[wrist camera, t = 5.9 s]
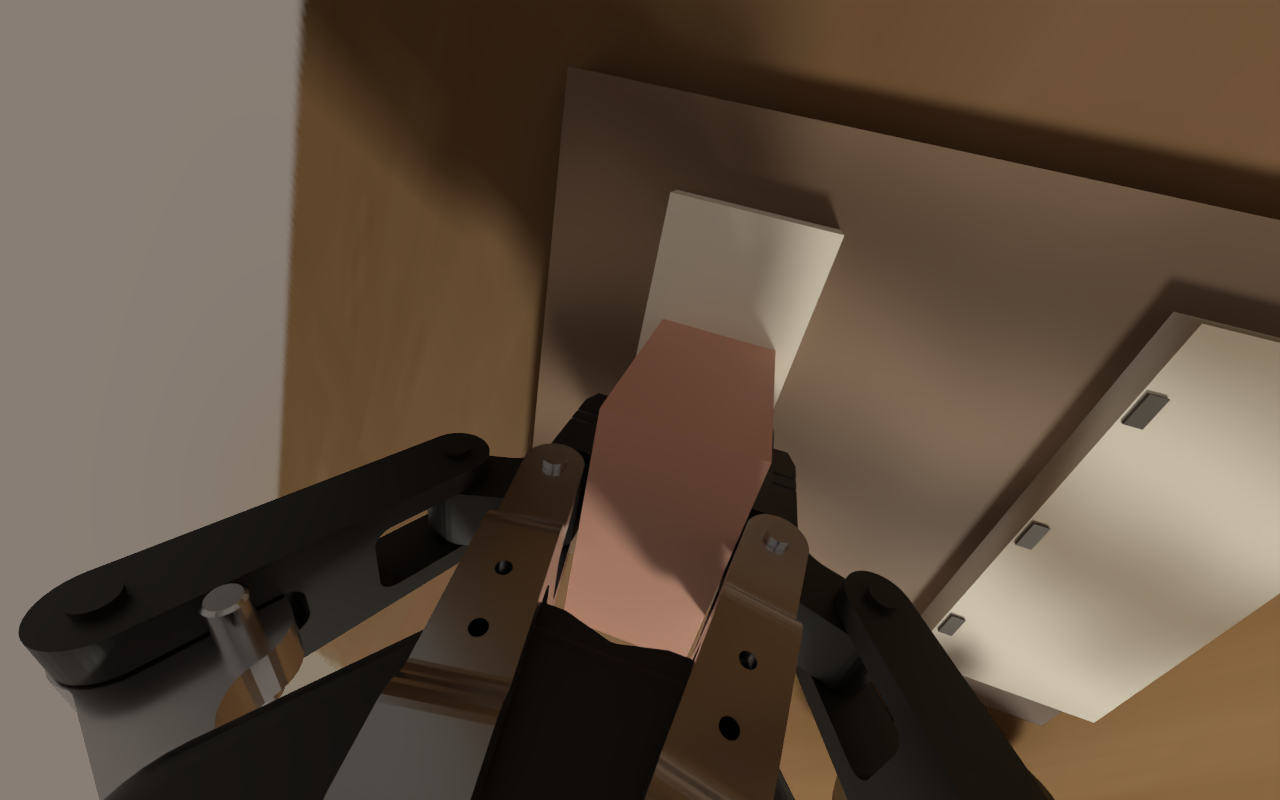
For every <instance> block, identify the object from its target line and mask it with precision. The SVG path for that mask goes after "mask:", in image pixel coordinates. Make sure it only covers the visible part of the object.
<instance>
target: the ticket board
mask: <svg viewBox="0 0 1280 800" xmlns="http://www.w3.org/2000/svg"><path fill="white" fill-rule="evenodd" d="M675 190H681V191H685V192H689V193H693V194H697V195H701V196H705V197H709V198H713V199H717V200H721V201H725V202H729V203H733V204H737V205H741V206H746V207H750V208H754V209H758V210H762V211H766V212H770V213H774V214H778V215H782V216H786V217H790V218H794V219H798V220H802V221H806V222H810V223H814V224H819V225H823V226H827V227H831V228H835V229H839V230H841V231H842V233H843V234H844V238H843V240H842V243H841V245H840V247H839V250H838V252H837V255H836V257H835V260H834V262H833V265H832V267H831V270H830V272H829V274H828V277H827V279H826V282H825V284H824V287H823V289H822V292H821V294H820V296H819V299H818V301H817V304H816V306H815V309H814V311H813V314H812V316H811V319H810V321H809V323H808V326H807V328H806V331H805V333H804V336H803V338H802V341H801V343H800V345H799V348H798V350H797V353H796V355H795V358H794V360H793V363H792V365H791V368H790V370H789V372H788V375H787V377H786V380H785V382H784V385H783V387H782V390H781V392H780V395H779V397H778V399H777V402H776V404H775V407H774V409H773V430H774V449H777V450H781V451H784V452H787V453H788V454H789V456H790V458H791V459H792V461H793V463H794V464H795V466H796V492H797V518H798V529H799V530H800V531H801V532H802V534H803V535H804V536H805V538H806V540H807V542H808V545H809V553H810V554H811V555H812V556H813V557H814V558H815V559H816V560H817V561H818V562H820V563H821V564H823V565H824V566H826V567H827V568H829V569H831V570H832V571H834V572H836V573H837V574H839V575H840V576H842V577H844V578H845V579H846V577H847V576H848V575H849V574H850V573H852V572H855V571H869V572H873V573H876V574H878V575H880V576H883V577H885V578H886V579H888V580H890V581H891V582H892V583H894V584H895V585H896V586H897V587H899V588H900V589H901V590H902V591H903V592H904V593H905V594H906V596H907V597H908V598H909V599H910V601H911V602H912V604H913V605H914V607H915V608H916V609H917V611H918V612H919V614H920V615H921V617H922V618H923V620H924V621H925V622H926V624H927V625H928V627H929V628H930V630H931V631H932V633H933V634H934V635H935V637H936V638H937V640H938V641H939V643H940V644H941V645H942V647H943V648H944V650H945V651H946V653H947V654H948V656H949V657H950V658H951V660H952V661H953V663H954V664H955V666H956V667H957V669H958V670H959V671H960V673H961V674H962V676H963V677H964V679H965V680H966V681H967V683H968V684H969V686H970V687H971V689H972V690H973V692H974V693H975V694H976V696H977V697H978V699H979V700H980V702H981V703H982V705H985V706H988V707H991V708H993V709H996V710H999V711H1002V712H1004V713H1007V714H1010V715H1013V716H1015V717H1018V718H1021V719H1023V720H1026V721H1029V722H1032V723H1034V724H1037V725H1040V726H1043V725H1044V724H1045V723H1047V722H1048V721H1049V720H1051V719H1052V718H1053V717H1055V716H1056V715H1057V714H1059V713H1060V712H1061V711H1063V712H1065V713H1068V714H1071V715H1074V716H1077V717H1079V718H1082V719H1085V720H1088V721H1090V722H1093V723H1094V722H1096V721H1097V720H1098V719H1100V718H1101V717H1103V716H1104V715H1106V714H1107V713H1109V712H1110V711H1111V710H1113V709H1114V708H1116V707H1117V706H1119V705H1120V704H1121V703H1123V702H1124V701H1126V700H1127V699H1129V698H1130V697H1131V696H1133V695H1134V694H1136V693H1137V692H1139V691H1140V690H1142V689H1143V688H1144V687H1146V686H1147V685H1149V684H1150V683H1152V682H1153V681H1154V680H1156V679H1157V678H1159V677H1160V676H1162V675H1163V674H1165V673H1166V672H1167V671H1169V670H1170V669H1172V668H1173V667H1175V666H1176V665H1177V664H1179V663H1180V662H1182V661H1183V660H1185V659H1186V658H1187V657H1189V656H1190V655H1192V654H1193V653H1195V652H1196V651H1198V650H1199V649H1200V648H1202V647H1203V646H1205V645H1206V644H1208V643H1209V642H1210V641H1212V640H1213V639H1215V638H1216V637H1218V636H1219V635H1220V634H1222V633H1223V632H1225V631H1226V630H1228V629H1229V628H1231V627H1232V626H1233V625H1235V624H1236V623H1238V622H1239V621H1241V620H1242V619H1243V618H1245V617H1246V616H1248V615H1249V614H1251V613H1252V612H1253V611H1255V610H1256V609H1258V608H1259V607H1261V606H1262V605H1264V604H1265V603H1266V602H1268V601H1269V600H1271V599H1272V598H1274V597H1275V596H1276V595H1278V594H1279V593H1280V220H1277V219H1272V218H1268V217H1263V216H1258V215H1254V214H1249V213H1244V212H1240V211H1235V210H1231V209H1226V208H1221V207H1217V206H1212V205H1208V204H1203V203H1198V202H1194V201H1189V200H1184V199H1180V198H1175V197H1171V196H1166V195H1161V194H1157V193H1152V192H1148V191H1143V190H1138V189H1134V188H1129V187H1125V186H1120V185H1115V184H1111V183H1106V182H1101V181H1097V180H1092V179H1088V178H1083V177H1078V176H1074V175H1069V174H1065V173H1060V172H1055V171H1051V170H1046V169H1041V168H1037V167H1032V166H1028V165H1023V164H1018V163H1014V162H1009V161H1005V160H1000V159H995V158H991V157H986V156H982V155H977V154H972V153H968V152H963V151H958V150H954V149H949V148H945V147H940V146H935V145H931V144H926V143H922V142H917V141H912V140H908V139H903V138H898V137H894V136H889V135H885V134H880V133H875V132H871V131H866V130H862V129H857V128H852V127H848V126H843V125H839V124H834V123H829V122H825V121H820V120H815V119H811V118H806V117H802V116H797V115H792V114H788V113H783V112H779V111H774V110H769V109H765V108H760V107H755V106H751V105H746V104H742V103H737V102H732V101H728V100H723V99H719V98H714V97H709V96H705V95H700V94H696V93H691V92H686V91H682V90H677V89H672V88H668V87H663V86H659V85H654V84H649V83H645V82H640V81H636V80H631V79H626V78H622V77H617V76H612V75H608V74H603V73H599V72H594V71H589V70H585V69H580V68H576V67H571V66H567V77H566V88H565V99H564V109H563V120H562V131H561V142H560V153H559V164H558V175H557V186H556V197H555V208H554V219H553V230H552V241H551V251H550V262H549V273H548V284H547V295H546V306H545V317H544V328H543V339H542V350H541V361H540V372H539V382H538V393H537V404H536V415H535V426H534V437H533V448H534V447H536V446H539V445H542V444H550V443H552V442H553V440H554V439H555V438H556V436H557V435H558V434H559V433H560V431H561V430H562V429H563V428H564V426H565V425H566V424H567V423H568V421H569V420H570V419H572V416H573V415H574V414H575V412H576V411H578V409H579V407H580V406H581V405H582V404H583V402H584V401H585V400H586V399H587V398H590V397H592V396H594V395H596V394H598V393H600V394H603V395H607V396H609V394H610V393H611V392H612V390H613V389H614V387H615V386H616V384H617V383H618V382H619V380H620V379H621V377H622V376H623V375H624V373H625V372H626V370H627V369H628V367H629V366H630V365H631V363H632V362H633V360H634V359H635V358H636V354H637V349H638V344H639V339H640V335H641V330H642V325H643V320H644V316H645V311H646V306H647V301H648V297H649V292H650V287H651V282H652V278H653V273H654V268H655V263H656V258H657V254H658V249H659V244H660V239H661V235H662V230H663V225H664V220H665V216H666V211H667V206H668V201H669V197H670V192H672V191H675ZM577 535H578V531H577V533H576V535H575V537H574V539H573V540H572V542H571V548H570V552H569V553H570V554H573V555H574V552H575V546H576V540H577ZM718 588H719V584H718V586H717V589H716V591H715V593H714V596H713V598H712V600H711V602H710V605H712V602H713V600H714V597H715V595H716V593H717V590H718Z"/></svg>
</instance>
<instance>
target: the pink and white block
mask: <svg viewBox="0 0 1280 800" xmlns="http://www.w3.org/2000/svg"><path fill="white" fill-rule="evenodd" d="M843 238H844V234H843V233H842V231H841V230H839V229H835V228H831V227H827V226H823V225H819V224H814V223H810V222H806V221H802V220H798V219H794V218H790V217H786V216H782V215H778V214H774V213H770V212H766V211H762V210H758V209H754V208H750V207H746V206H741V205H737V204H733V203H729V202H725V201H721V200H717V199H713V198H709V197H705V196H701V195H697V194H693V193H689V192H685V191H681V190H675V191H672V192H670V197H669V201H668V206H667V211H666V216H665V220H664V225H663V230H662V235H661V239H660V244H659V249H658V254H657V258H656V263H655V268H654V273H653V278H652V282H651V287H650V292H649V297H648V301H647V306H646V311H645V316H644V320H643V325H642V330H641V335H640V339H639V344H638V349H637V354H636V358H635V359H634V360H633V362H632V363H631V365H630V366H629V367H628V369H627V370H626V372H625V373H624V375H623V376H622V377H621V379H620V380H619V382H618V383H617V384H616V386H615V387H614V389H613V390H612V392H611V393H610V394H609V396H608V397H607V399H606V400H605V401H604V403H603V404H602V406H601V407H600V410H599V415H598V421H597V427H596V432H595V438H594V444H593V450H592V455H591V461H590V467H589V472H588V478H587V484H586V489H585V495H584V501H583V506H582V512H581V518H580V523H579V529H578V535H577V540H576V546H575V552H574V557H573V563H572V569H571V574H570V580H569V586H568V591H567V597H566V603H565V608H564V610H565V611H567V612H569V613H570V614H572V615H573V616H574V617H576V618H577V619H579V620H580V621H581V622H583V623H584V624H586V625H587V626H588V627H590V628H593V629H595V630H598V631H601V632H603V633H606V634H608V635H611V636H614V637H616V638H619V639H621V640H624V641H627V642H629V643H632V644H634V645H637V646H639V647H645V648H653V649H662V650H669V651H672V652H674V653H677V654H679V655H682V656H685V657H687V655H688V653H689V651H690V648H691V646H692V644H693V641H694V639H695V637H696V635H697V632H698V630H699V628H700V625H701V623H702V621H703V618H704V616H705V614H706V612H707V609H708V607H709V605H710V602H711V600H712V598H713V596H714V593H715V591H716V589H717V586H718V584H719V582H720V580H721V577H722V575H723V573H724V570H725V568H726V566H727V564H728V561H729V559H730V557H731V554H732V552H733V550H734V547H735V545H736V543H737V541H738V538H739V536H740V534H741V531H742V529H743V527H744V525H745V522H746V520H747V518H748V515H749V513H750V511H751V509H752V506H753V504H754V502H755V499H756V497H757V495H758V493H759V490H760V488H761V486H762V483H763V481H764V479H765V476H766V474H767V472H768V470H769V467H770V465H771V463H772V435H773V409H774V407H775V404H776V402H777V399H778V397H779V395H780V392H781V390H782V387H783V385H784V382H785V380H786V377H787V375H788V372H789V370H790V368H791V365H792V363H793V360H794V358H795V355H796V353H797V350H798V348H799V345H800V343H801V341H802V338H803V336H804V333H805V331H806V328H807V326H808V323H809V321H810V319H811V316H812V314H813V311H814V309H815V306H816V304H817V301H818V299H819V296H820V294H821V292H822V289H823V287H824V284H825V282H826V279H827V277H828V274H829V272H830V270H831V267H832V265H833V262H834V260H835V257H836V255H837V252H838V250H839V247H840V245H841V243H842V240H843Z"/></svg>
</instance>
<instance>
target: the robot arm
mask: <svg viewBox="0 0 1280 800" xmlns="http://www.w3.org/2000/svg"><path fill="white" fill-rule="evenodd" d="M607 397H608V396H607V395H603V394H600V393H598V394H596V395H594V396H592V397H590V398H587V399H586V400H585V401H584V402H583V404H582V405H581V406H580V407H579V409H578V411H576V412H575V414H574V415H573V416H572V419H570V420H569V421H568V423H567V424H566V425H565V426H564V428H563V429H562V430H561V431H560V433H559V434H558V435H557V436H556V438H555V439H554V440H553V442H552V443H550V444H542V445H539V446H536V447H534V448H532V449H531V450H529V451H528V452H527V454H526V455H525V457H524V458H507V457H496V456H489V446H488V445H487V443H486V442H485V441H484V440H482V439H481V438H479V437H477V436H475V435H471V434H466V433H452V434H446V435H443V436H440V437H437V438H434V439H432V440H429V441H426V442H424V443H421V444H419V445H416V446H413V447H411V448H408V449H406V450H403V451H400V452H398V453H395V454H393V455H390V456H387V457H385V458H382V459H380V460H377V461H374V462H372V463H369V464H366V465H364V466H361V467H359V468H356V469H353V470H351V471H348V472H346V473H343V474H340V475H338V476H335V477H333V478H330V479H327V480H325V481H322V482H320V483H317V484H314V485H312V486H309V487H307V488H304V489H301V490H299V491H296V492H293V493H291V494H288V495H286V496H283V497H280V498H278V499H275V500H273V501H270V502H267V503H265V504H262V505H260V506H257V507H254V508H252V509H249V510H247V511H244V512H241V513H239V514H236V515H234V516H231V517H228V518H226V519H223V520H220V521H218V522H215V523H213V524H210V525H207V526H205V527H202V528H200V529H197V530H194V531H192V532H189V533H187V534H184V535H181V536H179V537H176V538H174V539H171V540H168V541H166V542H163V543H161V544H158V545H155V546H153V547H150V548H147V549H145V550H142V551H140V552H137V553H134V554H132V555H129V556H127V557H124V558H121V559H119V560H116V561H114V562H111V563H108V564H106V565H103V566H101V567H98V568H95V569H93V570H90V571H87V572H85V573H83V574H80V575H78V576H76V577H74V578H72V579H70V580H68V581H66V582H64V583H62V584H61V585H59V586H57V587H56V588H54V589H53V590H51V591H50V592H49V593H47V594H46V595H44V596H43V597H42V598H41V599H40V600H39V601H37V602H36V603H35V604H34V605H33V606H32V607H31V609H30V610H29V611H28V612H27V613H26V615H25V616H24V618H23V620H22V622H21V624H20V627H19V637H20V640H21V641H22V643H23V644H24V646H25V647H26V648H27V649H28V650H29V651H30V652H31V654H32V655H33V656H34V657H35V658H36V659H37V661H38V662H39V663H40V664H41V665H42V666H43V667H44V669H45V671H46V676H47V678H48V680H49V681H50V683H51V684H52V685H53V686H54V687H55V688H56V689H57V691H58V692H59V693H60V694H61V695H62V696H63V698H65V700H66V701H67V702H68V703H69V704H70V706H71V707H72V708H73V709H74V710H75V711H76V712H77V714H78V718H79V722H80V725H81V729H82V733H83V737H84V741H85V745H86V749H87V753H88V757H89V760H90V764H91V768H92V772H93V776H94V780H95V784H96V788H97V792H98V795H99V799H100V800H795V799H794V797H793V795H792V793H791V791H790V789H789V787H788V785H787V783H786V781H785V779H784V777H783V775H782V773H781V771H780V769H779V766H780V760H781V754H782V749H783V743H784V737H785V731H786V725H787V720H788V714H789V708H790V702H791V696H792V691H793V685H794V679H795V673H796V674H797V677H798V680H799V682H800V684H801V687H802V689H803V692H804V694H805V697H806V699H807V702H808V704H809V707H810V709H811V711H812V714H813V716H814V719H815V721H816V724H817V726H818V729H819V731H820V734H821V736H822V738H823V741H824V743H825V746H826V748H827V751H828V753H829V756H830V758H831V761H832V763H833V765H834V768H835V770H836V773H837V775H838V778H839V780H840V783H841V785H842V787H843V790H844V792H845V795H846V797H847V800H1048V798H1047V797H1046V795H1045V794H1044V792H1043V791H1042V790H1041V788H1040V787H1039V785H1038V784H1037V782H1036V781H1035V779H1034V778H1033V777H1032V775H1031V774H1030V772H1029V771H1028V769H1027V768H1026V766H1025V765H1024V764H1023V762H1022V761H1021V759H1020V758H1019V756H1018V755H1017V754H1016V752H1015V751H1014V749H1013V748H1012V746H1011V745H1010V743H1009V742H1008V741H1007V739H1006V738H1005V736H1004V735H1003V733H1002V732H1001V730H1000V729H999V728H998V726H997V725H996V723H995V722H994V720H993V719H992V717H991V716H990V715H989V713H988V712H987V710H986V709H985V707H984V706H983V705H982V703H981V702H980V700H979V699H978V697H977V696H976V694H975V693H974V692H973V690H972V689H971V687H970V686H969V684H968V683H967V681H966V680H965V679H964V677H963V676H962V674H961V673H960V671H959V670H958V669H957V667H956V666H955V664H954V663H953V661H952V660H951V658H950V657H949V656H948V654H947V653H946V651H945V650H944V648H943V647H942V645H941V644H940V643H939V641H938V640H937V638H936V637H935V635H934V634H933V633H932V631H931V630H930V628H929V627H928V625H927V624H926V622H925V621H924V620H923V618H922V617H921V615H920V614H919V612H918V611H917V609H916V608H915V607H914V605H913V604H912V602H911V601H910V599H909V598H908V597H907V596H906V594H905V593H904V592H903V591H902V590H901V589H900V588H899V587H897V586H896V585H895V584H894V583H892V582H891V581H890V580H888V579H886V578H885V577H883V576H880V575H878V574H876V573H873V572H869V571H855V572H852V573H850V574H849V575H848V576H847V577H846V579H845V578H844V577H842V576H840V575H839V574H837V573H836V572H834V571H832V570H831V569H829V568H827V567H826V566H824V565H823V564H821V563H820V562H818V561H817V560H816V559H815V558H814V557H813V556H812V555H811V554H810V553H809V545H808V542H807V540H806V538H805V536H804V535H803V534H802V532H801V531H800V530H799V529H798V518H797V492H796V466H795V464H794V463H793V461H792V459H791V458H790V456H789V454H788V453H787V452H784V451H781V450H777V449H774V430H773V435H772V463H771V465H770V467H769V470H768V472H767V474H766V476H765V479H764V481H763V483H762V486H761V488H760V490H759V493H758V495H757V497H756V499H755V502H754V504H753V506H752V509H751V511H750V513H749V515H748V518H747V520H746V522H745V525H744V527H743V529H742V531H741V534H740V536H739V538H738V541H737V543H736V545H735V547H734V550H733V552H732V554H731V557H730V559H729V561H728V564H727V566H726V568H725V570H724V573H723V575H722V577H721V580H720V582H719V588H718V590H717V593H716V595H715V597H714V600H713V602H712V605H711V607H710V610H709V612H708V615H707V617H706V620H705V622H704V625H703V627H702V630H701V632H700V635H699V638H698V640H697V643H696V645H695V648H694V650H693V653H692V655H691V658H687V657H685V656H682V655H679V654H677V653H674V652H672V651H669V650H662V649H653V648H645V647H637V646H629V645H620V644H615V643H612V642H610V641H608V640H607V639H605V638H604V637H603V636H601V635H600V634H598V633H597V632H596V631H594V630H593V629H591V628H590V627H588V626H587V625H586V624H584V623H583V622H581V621H580V620H579V619H577V618H576V617H574V616H573V615H572V614H570V613H569V612H567V611H565V610H563V609H560V608H558V607H555V606H554V604H555V601H556V597H557V594H558V590H559V587H560V583H561V580H562V576H563V573H564V569H565V566H566V562H567V559H568V555H569V552H570V548H571V542H572V540H573V539H574V537H575V535H576V533H577V531H578V529H579V523H580V518H581V512H582V506H583V501H584V495H585V489H586V484H587V478H588V472H589V467H590V461H591V455H592V450H593V444H594V438H595V432H596V427H597V421H598V415H599V410H600V407H601V406H602V404H603V403H604V401H605V400H606V399H607ZM427 509H428V514H427V515H425V516H423V517H421V518H419V519H417V520H415V521H413V522H411V523H409V524H407V525H405V526H403V527H401V528H399V529H397V530H395V531H393V532H391V533H389V534H387V535H385V536H383V537H381V538H379V537H380V536H381V535H382V534H383V533H384V532H385V531H386V530H388V529H389V528H391V527H393V526H395V525H397V524H399V523H401V522H403V521H405V520H407V519H409V518H411V517H413V516H415V515H417V514H419V513H421V512H423V511H425V510H427ZM457 563H459V564H458V566H457V568H456V570H455V572H454V574H453V575H452V577H451V579H450V581H449V583H448V585H447V587H446V589H445V590H444V592H443V594H442V596H441V598H440V600H439V602H438V604H437V606H436V607H435V609H434V611H433V613H432V615H431V617H430V619H429V621H428V622H427V624H426V626H425V628H424V630H422V631H420V632H418V633H415V634H413V635H411V636H409V637H407V638H405V639H403V640H401V641H399V642H396V643H394V644H392V645H390V646H388V647H386V648H384V649H382V650H380V651H378V652H375V653H373V654H371V655H369V656H367V657H365V658H363V659H361V660H359V661H356V662H354V663H352V664H350V665H348V666H346V667H344V668H342V669H340V670H338V671H335V672H334V673H331V674H329V675H327V676H325V677H323V678H321V679H319V680H317V681H314V682H312V683H310V684H308V685H306V686H304V687H302V688H300V689H298V690H296V691H294V692H291V693H289V694H288V695H285V696H283V697H281V698H279V697H280V696H281V695H282V693H283V691H284V689H285V686H286V685H287V684H289V682H290V681H291V680H292V679H293V678H294V676H295V675H296V673H297V672H298V670H299V668H300V666H301V664H302V661H303V658H304V657H306V656H308V655H309V654H310V653H312V652H314V651H316V650H317V649H319V648H321V647H322V646H324V645H325V644H327V643H329V642H330V641H332V640H334V639H335V638H337V637H339V636H340V635H342V634H343V633H345V632H347V631H348V630H350V629H352V628H353V627H355V626H356V625H358V624H360V623H361V622H363V621H365V620H366V619H368V618H369V617H371V616H373V615H374V614H376V613H378V612H379V611H381V610H383V609H384V608H386V607H387V606H389V605H391V604H392V603H394V602H396V601H397V600H399V599H400V598H402V597H404V596H405V595H407V594H409V593H410V592H412V591H413V590H415V589H417V588H418V587H420V586H422V585H423V584H425V583H426V582H428V581H430V580H431V579H433V578H435V577H436V576H438V575H440V574H441V573H443V572H444V571H446V570H448V569H449V568H451V567H453V566H454V565H456V564H457ZM871 680H873V682H874V684H875V686H876V688H877V690H878V692H879V693H880V695H881V697H882V699H883V701H884V703H885V705H886V707H887V708H888V710H889V712H890V714H891V716H892V718H893V720H894V722H895V724H896V727H897V728H896V727H895V725H894V723H893V721H892V719H891V717H890V715H889V713H888V712H887V710H886V708H885V706H884V704H883V702H882V700H881V698H880V696H879V695H878V693H877V691H876V689H875V687H874V685H873V683H872V681H871Z"/></svg>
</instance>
